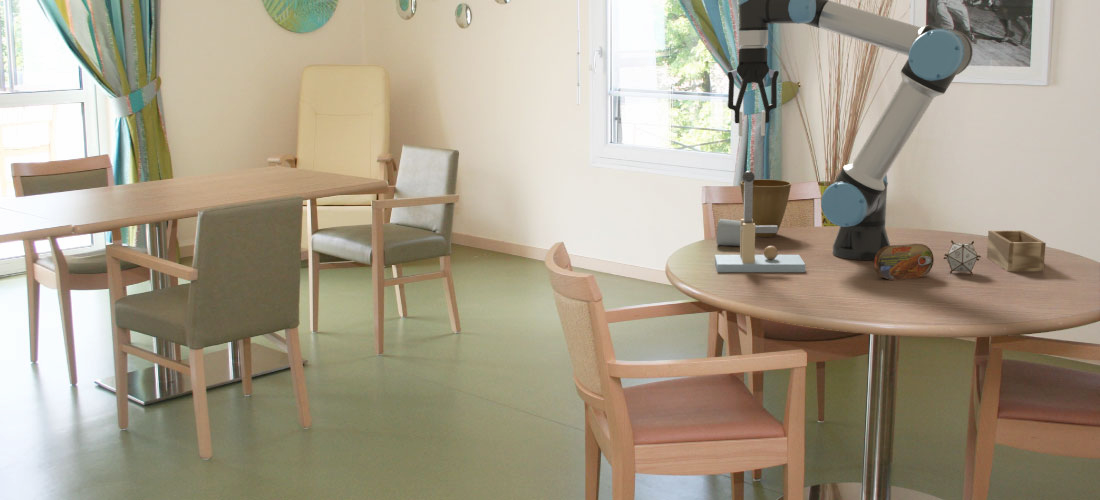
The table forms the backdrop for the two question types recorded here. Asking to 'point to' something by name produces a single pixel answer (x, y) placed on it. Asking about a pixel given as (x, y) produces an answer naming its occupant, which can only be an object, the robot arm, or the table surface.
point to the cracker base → (757, 257)
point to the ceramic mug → (728, 232)
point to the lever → (748, 202)
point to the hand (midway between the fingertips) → (751, 135)
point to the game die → (962, 257)
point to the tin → (903, 261)
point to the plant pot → (768, 202)
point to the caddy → (1016, 250)
